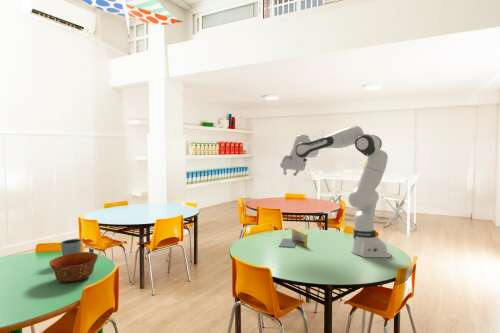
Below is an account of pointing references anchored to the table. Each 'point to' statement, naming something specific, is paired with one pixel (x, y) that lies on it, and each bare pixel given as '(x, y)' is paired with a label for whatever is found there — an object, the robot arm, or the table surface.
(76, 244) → the grey cylinder
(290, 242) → the mat
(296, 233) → the candy box
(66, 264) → the bowl
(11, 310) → the table surface
